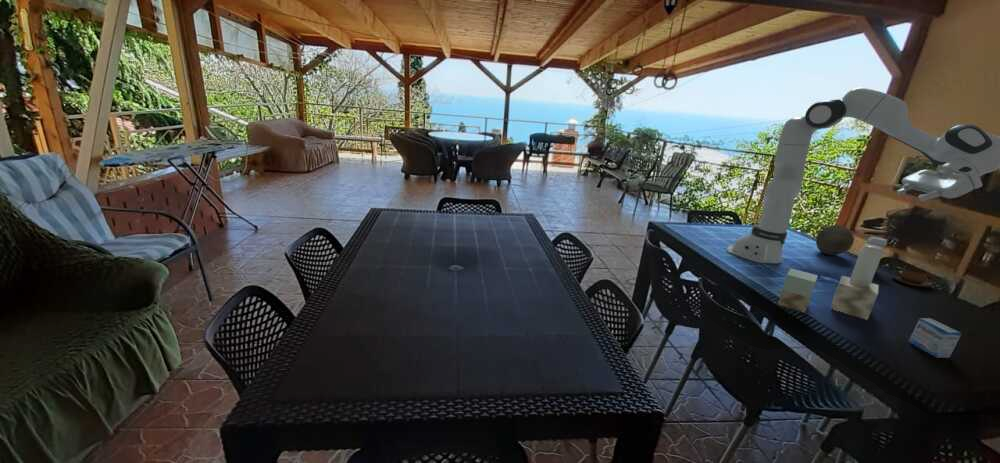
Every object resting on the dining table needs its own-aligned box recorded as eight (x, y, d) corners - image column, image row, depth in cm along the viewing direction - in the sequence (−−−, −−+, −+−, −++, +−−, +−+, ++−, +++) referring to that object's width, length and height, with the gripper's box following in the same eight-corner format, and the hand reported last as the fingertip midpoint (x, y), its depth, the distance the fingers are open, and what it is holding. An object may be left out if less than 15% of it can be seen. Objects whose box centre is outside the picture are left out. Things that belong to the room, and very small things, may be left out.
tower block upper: (781, 289, 138) (786, 274, 136) (786, 283, 144) (790, 268, 142) (809, 297, 133) (815, 282, 131) (812, 290, 138) (818, 275, 136)
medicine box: (907, 342, 120) (918, 317, 118) (920, 342, 121) (931, 317, 118) (936, 358, 113) (949, 332, 110) (950, 358, 113) (962, 332, 110)
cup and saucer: (918, 279, 167) (924, 266, 165) (937, 291, 157) (944, 278, 155) (884, 274, 171) (889, 262, 169) (900, 286, 160) (906, 272, 158)
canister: (848, 283, 135) (862, 246, 131) (849, 279, 139) (863, 243, 135) (869, 289, 132) (884, 251, 127) (869, 284, 136) (884, 247, 131)
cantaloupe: (805, 251, 195) (814, 223, 190) (822, 248, 200) (831, 220, 195) (837, 262, 183) (848, 232, 178) (854, 258, 188) (865, 229, 183)
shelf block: (830, 308, 139) (839, 283, 135) (832, 299, 145) (841, 275, 142) (867, 320, 132) (878, 293, 129) (868, 310, 139) (878, 284, 136)
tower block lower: (777, 304, 140) (782, 289, 138) (781, 297, 146) (786, 283, 144) (804, 313, 135) (810, 297, 133) (808, 305, 140) (813, 290, 138)
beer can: (878, 273, 172) (891, 241, 167) (863, 271, 173) (875, 239, 168) (869, 267, 178) (881, 236, 173) (854, 266, 179) (865, 235, 174)
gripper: (925, 162, 141) (883, 183, 146) (979, 171, 122) (929, 195, 127) (932, 176, 142) (890, 196, 147) (987, 187, 123) (937, 210, 128)
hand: (908, 196), depth 137 cm, fingers open, 8 cm apart
